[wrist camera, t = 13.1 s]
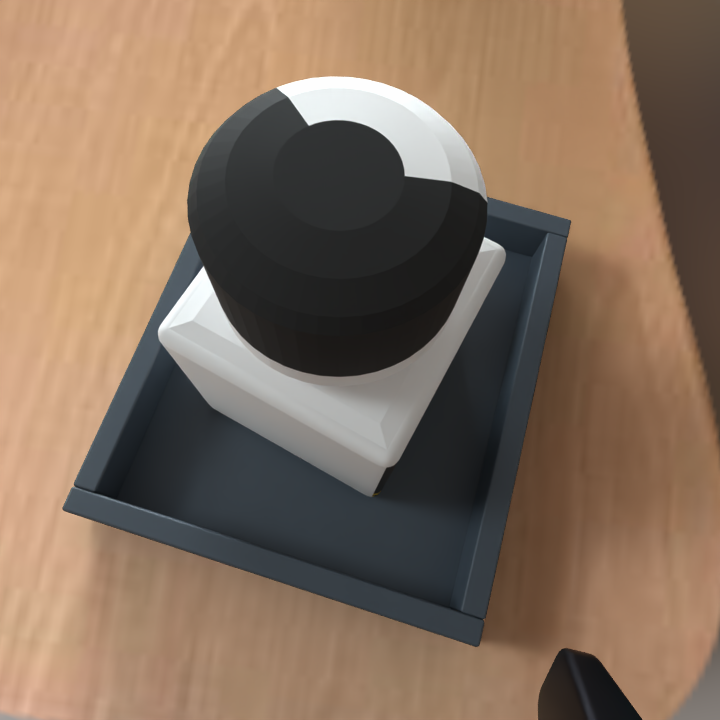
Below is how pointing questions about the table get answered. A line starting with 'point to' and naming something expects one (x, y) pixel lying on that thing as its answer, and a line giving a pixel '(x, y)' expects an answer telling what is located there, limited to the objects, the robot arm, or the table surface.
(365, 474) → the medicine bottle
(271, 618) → the table surface
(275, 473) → the tray
